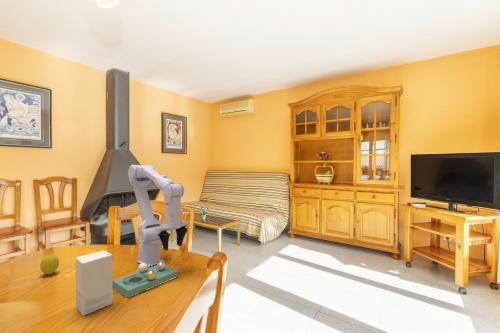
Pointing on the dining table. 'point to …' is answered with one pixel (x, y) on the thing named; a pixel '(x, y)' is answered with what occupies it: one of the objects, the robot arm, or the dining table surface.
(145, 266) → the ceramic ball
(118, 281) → the bearing plate
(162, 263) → the steel ball
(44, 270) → the lemon
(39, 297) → the dining table surface
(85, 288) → the skincare box
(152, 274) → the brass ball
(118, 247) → the dining table surface
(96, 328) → the dining table surface
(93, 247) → the dining table surface
